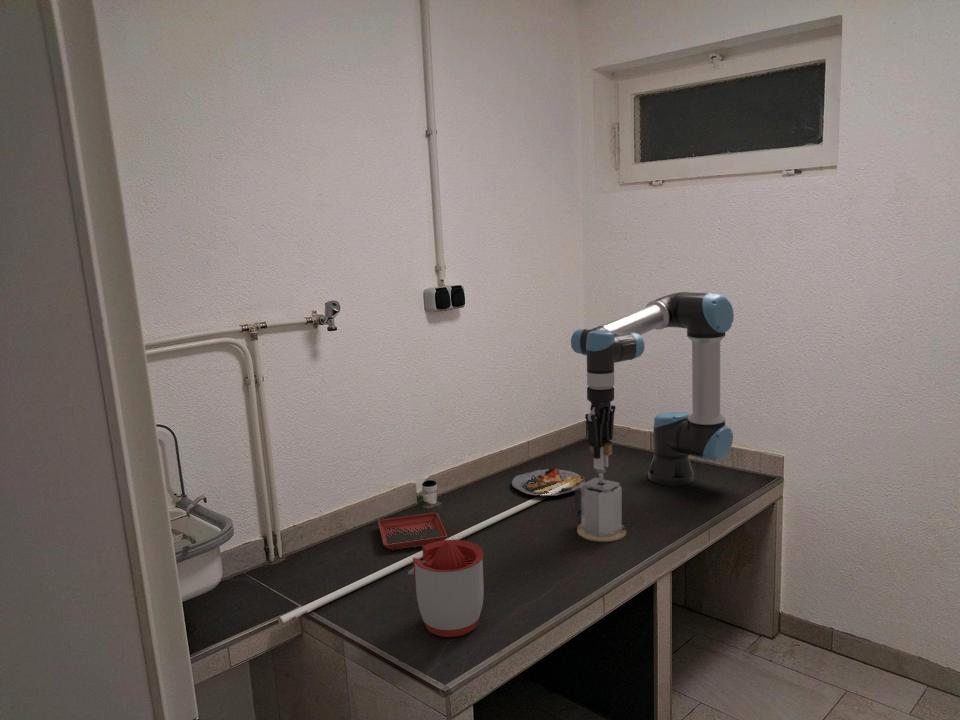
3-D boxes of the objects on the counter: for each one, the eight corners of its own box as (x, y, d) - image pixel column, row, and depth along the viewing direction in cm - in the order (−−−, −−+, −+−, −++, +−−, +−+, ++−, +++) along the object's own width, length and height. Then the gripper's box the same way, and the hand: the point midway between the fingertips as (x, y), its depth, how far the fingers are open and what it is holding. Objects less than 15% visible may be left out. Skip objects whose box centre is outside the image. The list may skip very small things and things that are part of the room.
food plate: (557, 469, 265) (557, 460, 264) (599, 488, 245) (599, 478, 245) (499, 486, 252) (499, 476, 252) (539, 507, 233) (539, 497, 232)
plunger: (596, 500, 214) (596, 438, 211) (618, 505, 210) (617, 441, 206) (584, 507, 209) (583, 444, 205) (606, 513, 205) (605, 448, 201)
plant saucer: (384, 555, 202) (383, 544, 201) (378, 529, 219) (377, 519, 218) (448, 546, 206) (448, 535, 205) (437, 522, 223) (437, 512, 222)
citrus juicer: (424, 602, 175) (420, 523, 171) (494, 611, 170) (491, 530, 166) (398, 637, 160) (393, 552, 157) (474, 648, 155) (470, 560, 151)
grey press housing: (589, 517, 221) (588, 471, 218) (634, 529, 212) (634, 481, 209) (564, 533, 210) (563, 485, 208) (611, 546, 201) (611, 496, 198)
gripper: (601, 380, 211) (602, 458, 215) (574, 390, 200) (575, 472, 204) (625, 382, 206) (625, 462, 211) (598, 393, 195) (599, 477, 199)
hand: (601, 467), depth 207 cm, fingers closed on plunger, 2 cm apart
